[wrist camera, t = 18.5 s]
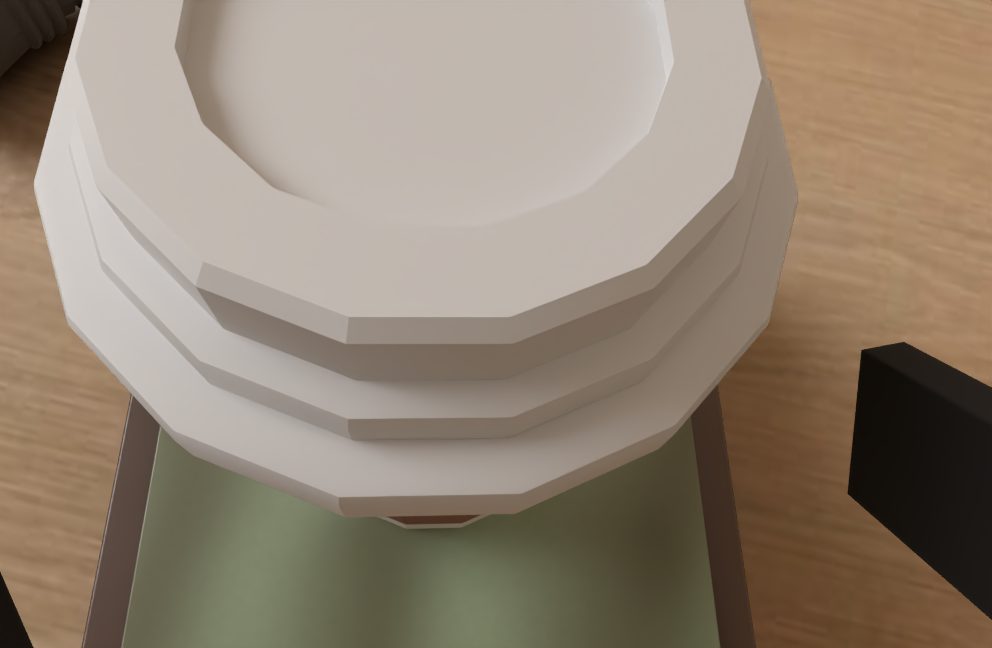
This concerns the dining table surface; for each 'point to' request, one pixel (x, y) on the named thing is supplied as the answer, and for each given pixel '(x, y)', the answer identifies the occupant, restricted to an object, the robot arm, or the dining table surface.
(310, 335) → the coffee cup
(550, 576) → the stand
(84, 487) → the dining table surface
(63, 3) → the flashlight
